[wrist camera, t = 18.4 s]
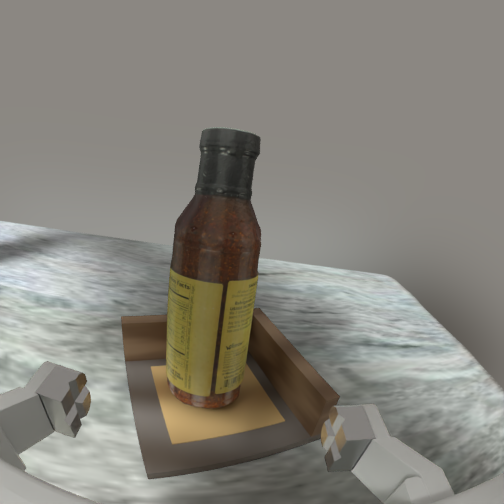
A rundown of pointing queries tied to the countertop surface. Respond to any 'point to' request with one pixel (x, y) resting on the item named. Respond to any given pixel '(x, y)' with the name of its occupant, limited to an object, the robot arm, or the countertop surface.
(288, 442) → the corner arena
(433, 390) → the countertop surface
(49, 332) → the countertop surface
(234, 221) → the sauce bottle
